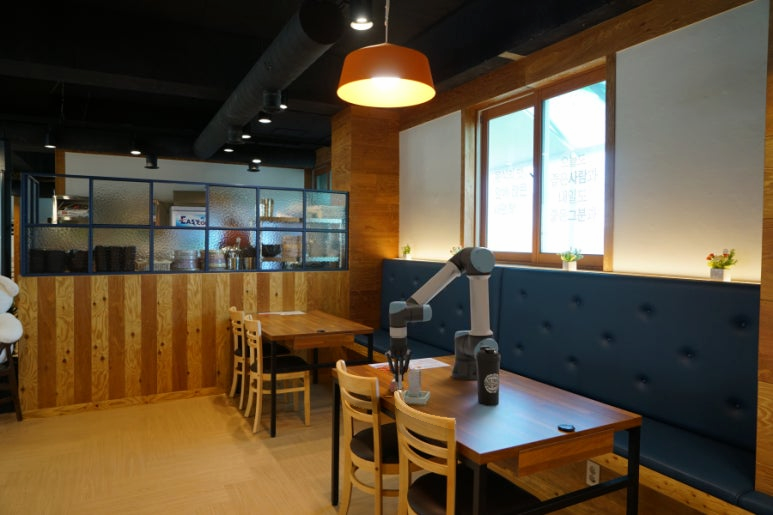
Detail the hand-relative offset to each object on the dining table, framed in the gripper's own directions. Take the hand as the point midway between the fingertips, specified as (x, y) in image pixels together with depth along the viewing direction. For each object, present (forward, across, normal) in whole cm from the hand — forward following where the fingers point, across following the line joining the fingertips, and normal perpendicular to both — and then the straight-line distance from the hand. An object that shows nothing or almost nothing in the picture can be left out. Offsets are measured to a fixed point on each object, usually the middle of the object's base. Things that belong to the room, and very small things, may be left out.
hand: (399, 388), depth 231 cm
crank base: (+2, -1, -6) cm, 7 cm away
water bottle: (+2, -28, +29) cm, 40 cm away
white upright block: (+1, -1, +14) cm, 14 cm away
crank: (0, +1, -2) cm, 3 cm away
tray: (+1, -1, +14) cm, 14 cm away
